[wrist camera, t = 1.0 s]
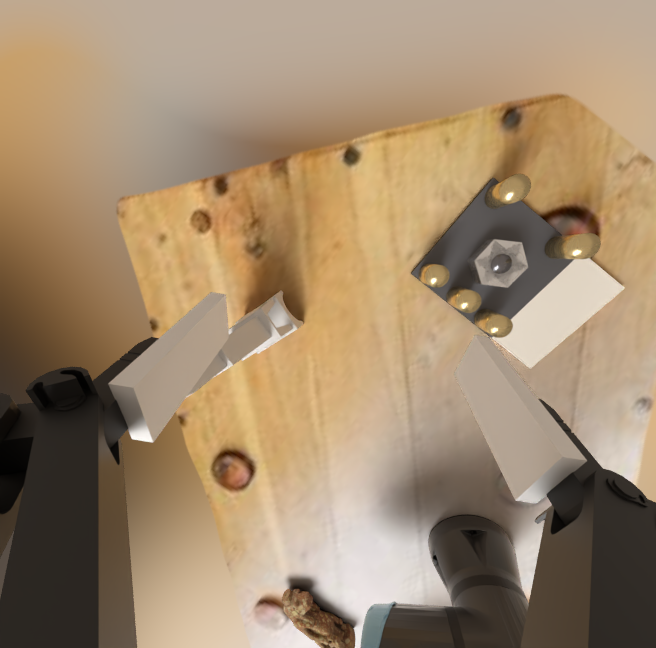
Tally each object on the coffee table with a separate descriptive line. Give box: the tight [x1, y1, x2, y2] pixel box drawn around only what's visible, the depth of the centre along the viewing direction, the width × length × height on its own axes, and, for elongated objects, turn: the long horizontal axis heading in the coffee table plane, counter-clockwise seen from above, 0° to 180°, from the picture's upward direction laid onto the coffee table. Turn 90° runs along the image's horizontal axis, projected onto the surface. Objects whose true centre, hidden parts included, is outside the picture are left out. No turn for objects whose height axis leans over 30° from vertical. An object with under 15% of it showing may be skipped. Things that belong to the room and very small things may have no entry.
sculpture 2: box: [282, 589, 355, 648], centre depth 60 cm, size 8×19×5 cm, turn 37°
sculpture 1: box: [187, 290, 304, 397], centre depth 31 cm, size 7×8×30 cm
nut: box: [468, 239, 528, 288], centre depth 36 cm, size 7×6×3 cm
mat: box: [411, 178, 625, 369], centre depth 38 cm, size 24×16×1 cm, turn 53°
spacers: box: [418, 174, 601, 338], centre depth 35 cm, size 14×16×5 cm
